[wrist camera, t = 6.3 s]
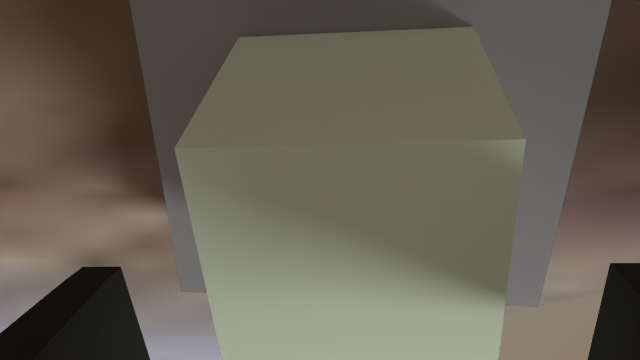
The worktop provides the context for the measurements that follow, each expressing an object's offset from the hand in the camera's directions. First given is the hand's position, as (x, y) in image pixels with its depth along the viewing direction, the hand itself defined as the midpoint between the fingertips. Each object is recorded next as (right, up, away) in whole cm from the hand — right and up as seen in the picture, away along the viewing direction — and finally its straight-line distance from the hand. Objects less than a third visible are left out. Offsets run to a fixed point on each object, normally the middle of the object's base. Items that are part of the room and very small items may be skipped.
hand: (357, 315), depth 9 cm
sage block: (0, +3, +5) cm, 6 cm away
